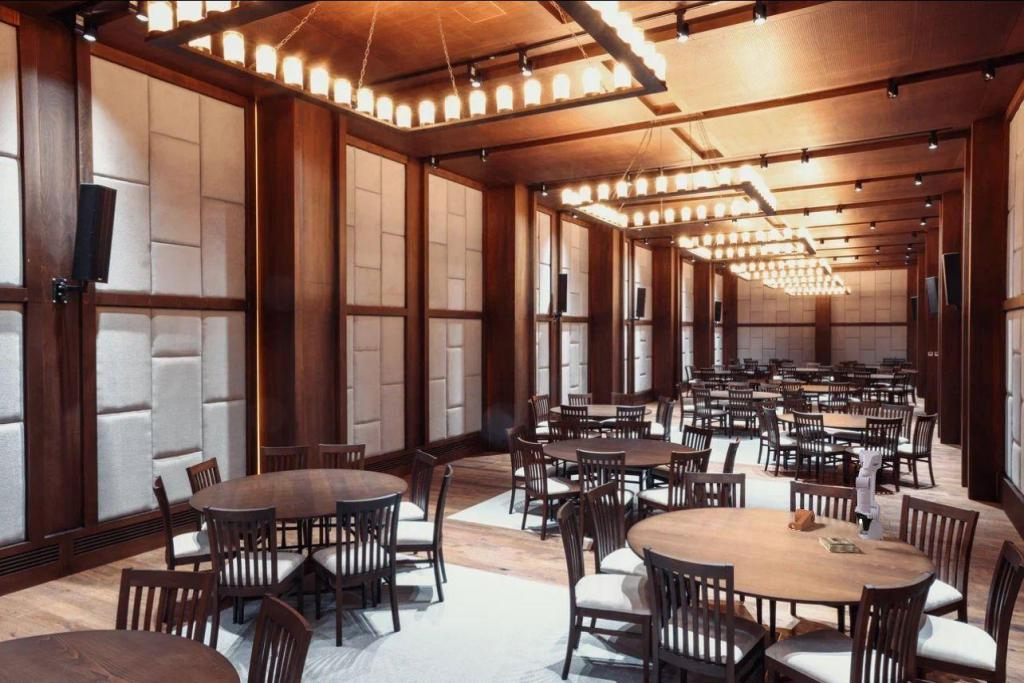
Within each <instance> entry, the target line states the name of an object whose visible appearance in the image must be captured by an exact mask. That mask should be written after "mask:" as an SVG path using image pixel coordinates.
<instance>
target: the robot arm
mask: <svg viewBox="0 0 1024 683" xmlns="http://www.w3.org/2000/svg"><path fill="white" fill-rule="evenodd" d="M882 457H883V456H882V452H881V451H880V450H879V451H877V450H866V449H860V450H859V455H858V459H859V462H860V466H861V467H860V469H859V473H858V476H856V478H855V487H856V492H857V493H856V494H857V498H856V499H857V500H856V501H857V505H856V506H855V509H854V515H855V517H856V520H857V523H858V525H859V519H860V518H861V521H862V525H863V531H868V535H862V534H859V533H858V534H857V535H858V536H859V537H860V538H862V539H863V540H869V539H878V541H884V526H883V522H882V521H881V505H880V504H879V503H877V502H876V501H875V498H876V497H875V495H876V493H875V492H876V476H877V475H876V474H877V471H878V469H881V468H882V461H883V460H882V459H883V458H882ZM880 539H882V540H880Z"/></svg>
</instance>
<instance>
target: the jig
mask: <svg viewBox="0 0 1024 683" xmlns="http://www.w3.org/2000/svg"><path fill="white" fill-rule="evenodd" d="M818 541H819V542H818V544H819V543H820V544H819V545H821V546H822V547H823V546H824V547H825V548H826V551H828V552H829V553H842V552H854V553H853V554H859V546H858V544H856V543H854V542H853V541H852V540H850V539H849V538H848V537H829V536H828V537H823V536H822V537H820V536H819V537H818ZM824 547H823V548H824ZM825 548H824V549H825Z"/></svg>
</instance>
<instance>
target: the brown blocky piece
mask: <svg viewBox="0 0 1024 683" xmlns="http://www.w3.org/2000/svg"><path fill="white" fill-rule="evenodd" d="M815 521H816V513H815V511H814V510H810V509H809V510H808V509H801V508H796V509H795V513H794V521H791V522H789V523H788V525H787V526H788V529H789V528H791V529H790V530H792V529H795V530H794V531H797V530H800V531H799V532H802V531H801V530H803V529H804V530H806V529H807V527H808V528H810V527H811V526H813V525H815ZM812 524H813V525H812ZM810 525H811V526H810ZM809 526H810V527H809ZM805 528H806V529H805ZM804 530H803V531H804Z"/></svg>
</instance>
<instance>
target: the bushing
mask: <svg viewBox="0 0 1024 683" xmlns="http://www.w3.org/2000/svg"><path fill="white" fill-rule="evenodd" d="M858 534H862V535H868V531H863V525H862V521H861V518H860V519H859V524H858Z"/></svg>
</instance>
